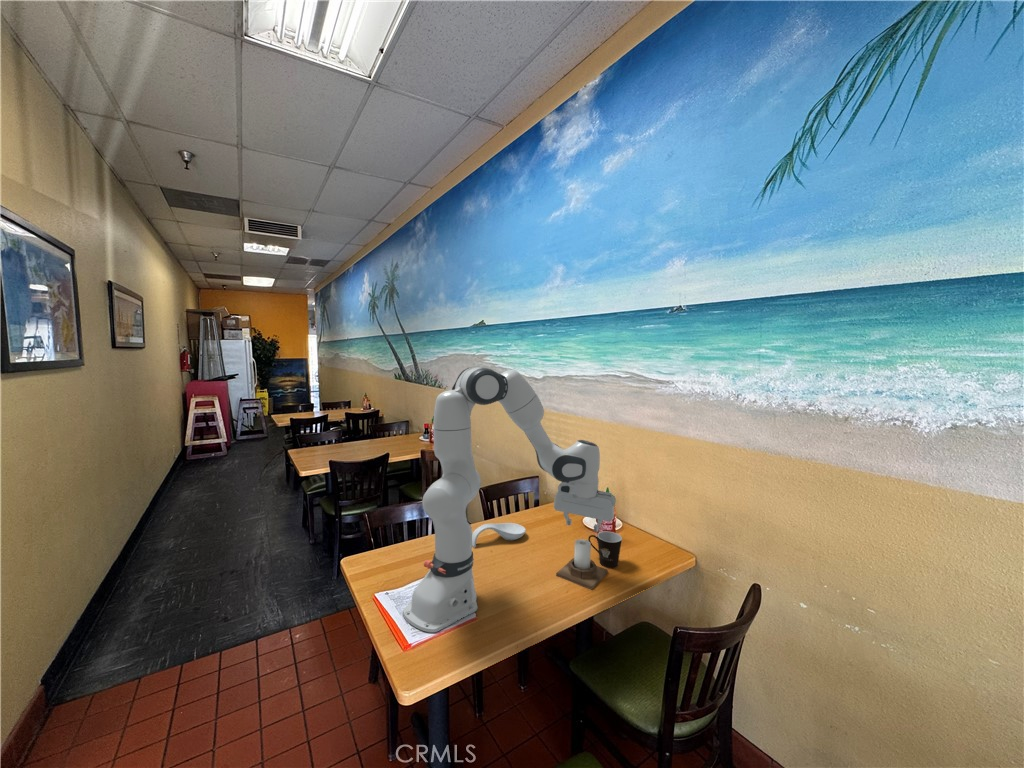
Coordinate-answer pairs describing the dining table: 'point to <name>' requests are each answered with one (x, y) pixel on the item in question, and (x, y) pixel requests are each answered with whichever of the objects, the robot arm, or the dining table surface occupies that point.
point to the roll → (582, 554)
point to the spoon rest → (501, 531)
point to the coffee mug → (608, 548)
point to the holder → (582, 574)
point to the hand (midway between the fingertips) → (582, 527)
